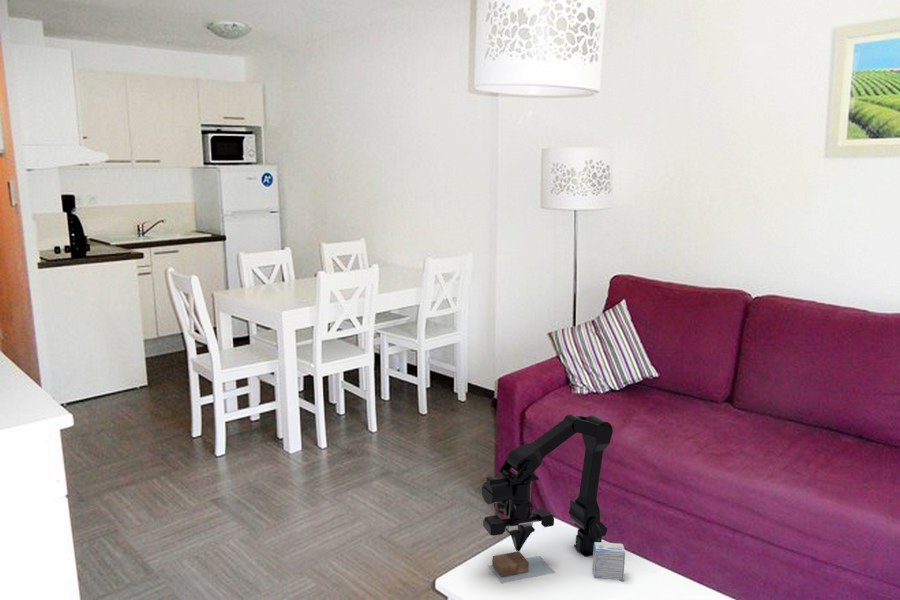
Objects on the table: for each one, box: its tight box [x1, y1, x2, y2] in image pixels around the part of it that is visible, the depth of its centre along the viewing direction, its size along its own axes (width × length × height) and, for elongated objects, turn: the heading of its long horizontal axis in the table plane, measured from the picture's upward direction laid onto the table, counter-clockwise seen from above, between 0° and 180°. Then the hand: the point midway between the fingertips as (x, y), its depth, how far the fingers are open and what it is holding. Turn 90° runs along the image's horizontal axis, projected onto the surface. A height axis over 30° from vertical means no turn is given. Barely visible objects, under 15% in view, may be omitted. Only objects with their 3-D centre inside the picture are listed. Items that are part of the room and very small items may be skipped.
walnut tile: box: [491, 551, 529, 577], centre depth 189 cm, size 3×6×8 cm
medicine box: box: [591, 541, 626, 582], centre depth 187 cm, size 8×4×9 cm, turn 84°
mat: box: [487, 555, 556, 584], centre depth 189 cm, size 16×9×1 cm, turn 110°
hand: (517, 550), depth 189 cm, fingers closed
